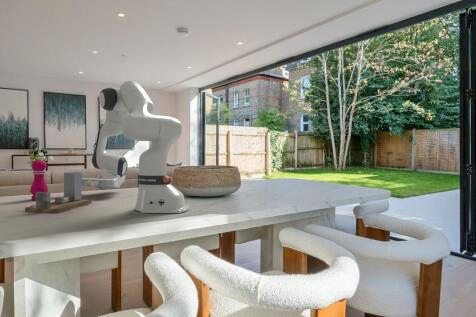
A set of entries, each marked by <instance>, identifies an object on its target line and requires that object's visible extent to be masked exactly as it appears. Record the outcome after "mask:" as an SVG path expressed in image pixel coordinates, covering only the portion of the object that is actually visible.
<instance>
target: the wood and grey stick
mask: <svg viewBox="0 0 476 317" xmlns="http://www.w3.org/2000/svg"><path fill="white" fill-rule="evenodd" d="M54 200H55V203H60V204H62V203H64V196H56V197H52V196H50V201H54Z"/></svg>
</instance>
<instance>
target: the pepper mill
mask: <svg viewBox="0 0 476 317" xmlns="http://www.w3.org/2000/svg"><path fill="white" fill-rule="evenodd" d="M47 166H48V165H47V163H46V161H44V160H42V157H40V156H37V158H36V160H35V161H33V162H32V163H31V168H32V174H33V180H32V181H33V182H32V183H31V186H30V189H29V190H30V191H29V192H30V194H32V195H31V198H30V199H31V201H36V192H49V187H48V185H47V182H46V179H45V174H46V169H47Z"/></svg>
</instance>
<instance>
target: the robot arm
mask: <svg viewBox="0 0 476 317" xmlns="http://www.w3.org/2000/svg"><path fill="white" fill-rule="evenodd" d="M99 103H100V107H101V108H102V109H103V110H105V121H104V123H103V124H101V125H100V127H99V129H98V130H97V134H96V140H95V145H94V152H93V154H92V156H91V163H92V166H93V167H94V168H95V169H97V170H102V171H106V172H99V173H98V174H97V175H95V177H90V176H89V177H82V187H97V189H99V190H102V191H105V190H110V189H119V188H120V186H121V185H123V184H124V182H125V180H126V173H127V171H128V161H127V158H126V157H125V156H123V155H119V154H114V153H110V152H108V151H106V146H107V142H108V138H109V137H115V136H119V135H122V134H123V136H124V137H125V138H126V139H128V140H132V141H137V142H150V146H149V147H148V149H146V150H145V151H143V152H142V153H141V154H140V156H139V157H138V175H137V197H136V202H135V206H134V210H135V211H137V212H140V213H142V214H146V213H147V214H180V213H185V212H187V211H189V210H191V207H190V204H186V202H185V196H184V193H182V192H181V191H180V190H179V189H178V188H177V187H175V186H173V184H172V183H171V182H172V178H173V177H172V176H170V175H168V174H167V167H168V166H167V163H168V155H169V152H170V149H171V148H172V146H173V144H174V143H176V141H177V140H178V139H179V138H180V136H181V135H182V132H183V126H182V123H181V121H180V120H179V119H178V118H175V117H172V116H168V115H159V114H154V112H155V105H154V103H153V101H152V99H151V98H150V97H149V94H148V93H147V91H145V89H144V88H143V87H142V86H141V84H139V83H138V82H137V81H134V80H126V81H124V82H123V83H122V84H121V85H120V87H106V88H103V89H101V91H100V92H99Z"/></svg>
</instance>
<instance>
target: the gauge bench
mask: <svg viewBox="0 0 476 317" xmlns="http://www.w3.org/2000/svg"><path fill="white" fill-rule="evenodd" d="M50 197H51V192H49V191H48V192H36V200H35V204H33V205H29V206H26V207H24V212H27V213H28V212H29V213H30V212H31V213H50V214H51V213H52V214H59V213H63V212H66V211H67V212H68V211H71V210H75V209H76V208H77V209H78V208H81V207H84V206H88V205H91V204H93V203H92V201H93V200H92V199H80V200H76V201H68V202H65V203H62V204H60V203H55V200H50Z"/></svg>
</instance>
